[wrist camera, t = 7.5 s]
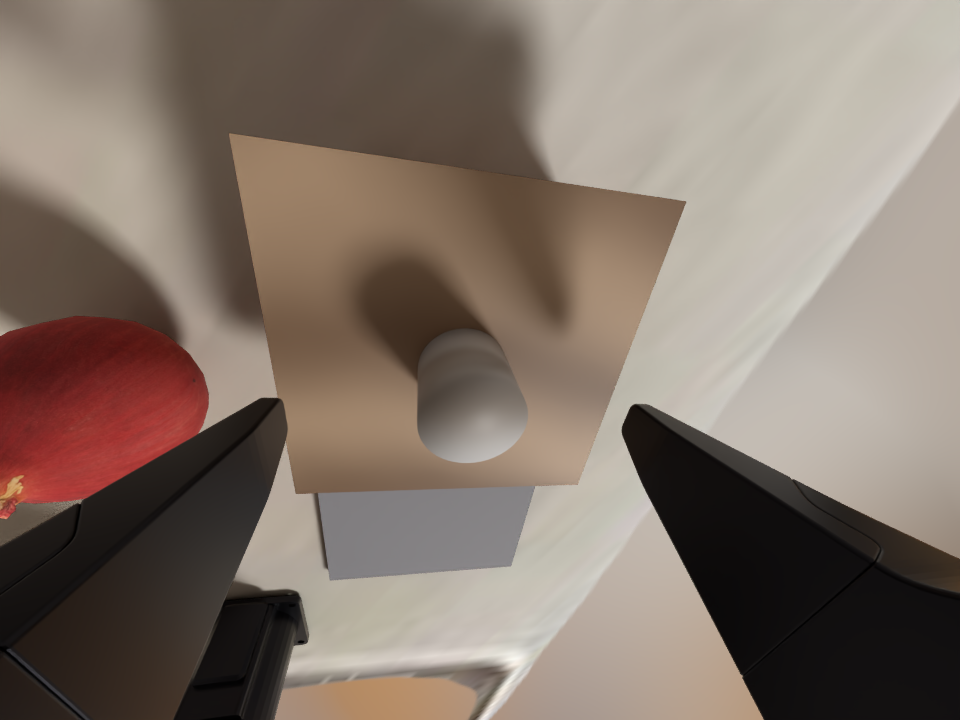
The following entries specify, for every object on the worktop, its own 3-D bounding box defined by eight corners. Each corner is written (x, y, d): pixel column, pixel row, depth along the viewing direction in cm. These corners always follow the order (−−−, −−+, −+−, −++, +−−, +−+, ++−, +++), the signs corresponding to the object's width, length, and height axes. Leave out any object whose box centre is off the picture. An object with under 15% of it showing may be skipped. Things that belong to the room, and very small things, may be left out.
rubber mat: (509, 558, 27) (510, 566, 26) (331, 571, 24) (329, 580, 24) (546, 430, 21) (549, 436, 20) (313, 429, 18) (310, 437, 18)
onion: (109, 402, 16) (-133, 590, 9) (55, 279, 13) (-355, 412, 6) (251, 407, 17) (137, 576, 10) (230, 295, 14) (51, 421, 7)
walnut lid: (567, 463, 16) (605, 542, 12) (305, 468, 13) (268, 566, 10) (660, 197, 10) (771, 214, 7) (252, 136, 8) (141, 120, 5)
